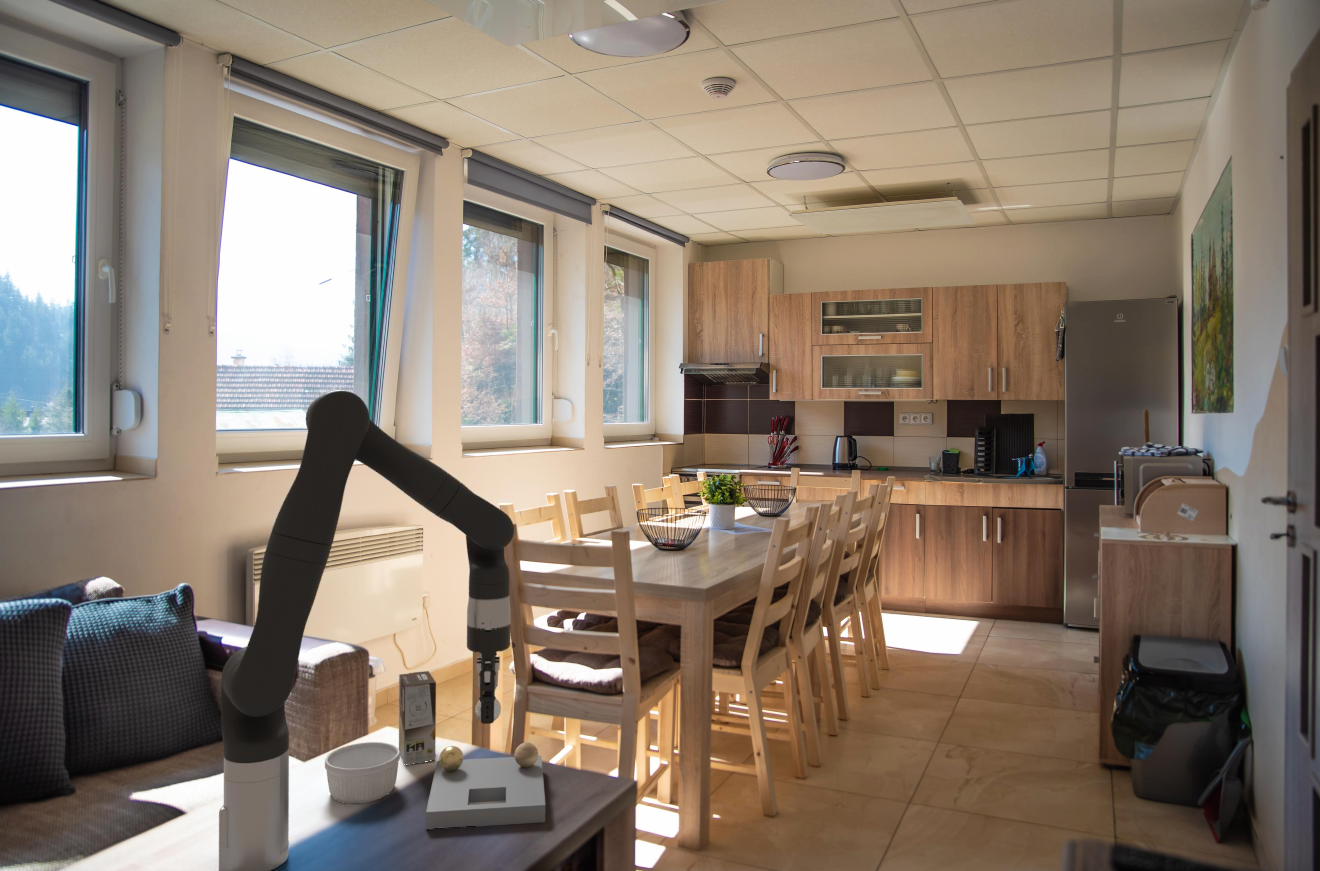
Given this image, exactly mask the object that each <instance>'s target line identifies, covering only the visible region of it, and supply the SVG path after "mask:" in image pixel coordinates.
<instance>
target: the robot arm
mask: <svg viewBox="0 0 1320 871" xmlns="http://www.w3.org/2000/svg"><path fill="white" fill-rule="evenodd" d="M305 424H306V425H305V426H306V428H307V436H306V440H305V445H304V450H303V454H302V459H301V462H300V466H299V468H298V471H297V474H296V477H295V478H294V481H293V482H292V483H291V484H292V485H291V487H290V489H289V491H288V492H287V494H286V496H285V498H284V501H283V503H282V505H281V506H280V509H279V511H278V513H277V515H276V518H275V522H274V523H273V526H272V529H271V532H270V534H269V535H270V536H269V539H268V541H267V545H266V548H265V551H264V555H263V559H262V562H261V563H262V564H261V570H260V577H259V578H260V579H259V589H258V590H259V591H258V604H257V614H256V617H255V618H256V619H255V622H254V626H253V629H252V632H251V635H250V638H249V641H248V643H247V646H244V647H242V648H240V649H238V650H236V651H235V652H234V653H233V654H232V655H231V656H230V657H229V658H228V660H227V661H226V662H225V664H224V666H223V669H222V672H221V678H220V680H221V681H220V716H221V717H220V719H221V720H220V722H221V723H220V724H221V726H220V727H221V736H222V743H223V805H222V806H221V808H220V809H219V813H218V871H272V870H275V869H276V868H278V867H279V866H282V865H283V864H284V863H285V862H286V861H287V860H288V857H289V847H290V846H289V845H290V840H289V830H290V829H289V826H290V824H289V822H290V820H289V819H290V818H289V816H290V811H289V810H290V808H289V806H290V801H289V800H290V795H289V794H290V792H289V791H290V783H289V782H290V781H289V779H290V731H289V727H288V723H287V717H286V710H285V709H286V707H285V702H286V701H287V700H288V699H289V697H290V695H291V693H292V690H293V688H294V684H295V679H296V675H297V669H298V662H299V657H300V653H301V646H302V642H303V636H304V633H305V629H306V625H307V622H308V619H309V617H310V613H311V611H312V608H313V606H314V603H315V600H316V596H317V593H318V591H319V587H320V584H321V581H322V578H323V574H324V572H325V569H326V566H327V564H328V560H329V557H330V553H331V550H332V546H333V543H334V540H335V535H336V531H337V526H338V523H339V520H340V519H339V518H340V514H341V510H342V505H343V501H344V500H343V499H344V496H345V490H346V485H347V482H348V478H349V476H350V474H351V470H352V468H353V466H354V462H355V460H356V461H358V462H360V463H361V464H362V465H365V466H366V467H368V468H369V469H371V470H372V471H374V472H376V473H377V474H378V475H380V476H381V477H382V478H384V479H385V480H387V481H389V482H390V483H391V484H392V485H393V486H395V487H396V488H398V489H399V490H400V491H401V492H403V493H404V494H405V495H407V496H408V497H409V498H411V499H412V500H413V501H415V502H416V503H418V504H419V505H420V506H422V507H423V508H424V509H426V510H427V511H428V512H431V513H432V514H434V515H435V516H436V517H437V518H439V519H441V520H443V521H445V522H446V523H449V524H451V525H452V526H454V527H455V528H456V529H458V530H459V531H461V533H463V534H464V535H465V543H466V553H467V559H468V560H467V561H468V567H469V574H468V575H469V576H468V601H467V609H466V648H467V650H469V651H471V652H472V653H479V654H480V655H481V656H477V657H476V658H477V659H476V671H477V688H478V689H479V697H478V701H479V700H480V703H481V721H480V723H481V724H482V725H485V724H487V725H489V724H493V723H494V722H495V721H494V702H495V700H496V699H497V698H496V694H495V693H496V690H497V687H498V686H499V671H500V665H501V664H500V663H501V662H500V661H501V656H498V655H497V654H498V652H503V651H506V650H508V649H509V648H510V646H511V620H512V619H511V618H512V617H511V601H510V600H511V598H510V581H511V579H510V570H509V566H508V564H507V562H506V560H505V559H506V558H505V548H506V547H507V546H508V545H510V543H511V541H512V540H513V538H514V536H515V527H514V525H515V524H514V522H513V521H512V518H511V517H510V516H509V514H507V513H506V512H505V511H503V510H501V509H500V508H499V507H498V506H496V505H494V504H492V503H491V502H489V501H488V500H486V499H484V498H483V497H482V496H480V495H478V494H476V493H474V492H473V491H472V490H471V489H470V488H469V487H468V486H466V485H465V483H463V482H461V481H460V480H458V479H457V478H456V477H454V476H453V475H452V474H451V473H449V472H448V471H446V470H445V469H443V468H442V467H440V466H438V464H436V463H434V462H432V460H429V459H428V458H426V457H424V456H422V455H421V454H419V453H417V452H415V451H413V450H411V449H410V448H408V447H407V446H405V445H404V444H402V443H401V442H399V441H397V440H395V439H394V438H393V437H391V436H390V435H389V434H387V433H386V432H385V431H384V430H383V429H381V428H380V427H379V426H378V425H377V424H376V423H375V422H374V421H372V420H371V418H370V411H369V409H368V406H367V404H366V403H365V401H364V400H363V399H362V398H361V396H359V395H357V393H356V394H355V393H354V392H352V391H350V390H342V389H338V390H332V391H328V392H324V394H321V395H320V396H318V397H317V398H316V399H314V400H313V401H312V402H311V404H309V407H308V408H307V411H306V414H305Z"/></svg>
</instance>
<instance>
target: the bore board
mask: <svg viewBox="0 0 1320 871" xmlns="http://www.w3.org/2000/svg"><path fill="white" fill-rule="evenodd" d="M435 765H436V766H435V768H434V769H435V770H434V773H433V779H432V784H431V788H430V792H429V797H428V802H427V806H426V811H425V829H426V828H435V827H436V828H438V827H445V829H448V828H447V827H461V828H467V827H466V826H476V827H486V826H487V827H490V826H505V825H506V826H507V825H519V824H520V825H521V824H523V825H524V824H536V823H537V824H538V823H546V796H545V783H544V772H543V761H542V755H538V759H537V761H536V762H535V764H533V765H532V766H530V767H521V766H520V765H518V764H517V762H516V760H515V756H506V757H503V756H502V757H486V758H484V757H483V758H469V759H467V758H466V759H463V763H462V765H461V766H460V767H459V768H458V769H457V770H455V771H446V770H444V769H443V768H442V767H441V765H440V763H439V760H437V761H436V764H435ZM463 826H464V827H463Z"/></svg>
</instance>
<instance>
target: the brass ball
mask: <svg viewBox="0 0 1320 871" xmlns="http://www.w3.org/2000/svg"><path fill="white" fill-rule="evenodd" d="M464 756H465V755H464V753H463V750H462V749H461V748H460V747H458V746H455V745H450V746H447V747H445V748H444V749H442V751H441V752H440V754H439V757H438V761H439V763H440V765H441V767H442V768H443V769H444V770H446V771H455V770H457V769H458V768H459V767H460V766H461V765H462V763H463V759H464Z"/></svg>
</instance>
